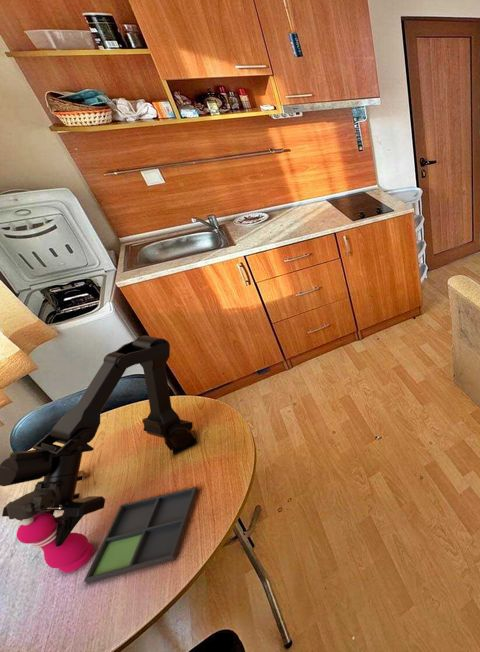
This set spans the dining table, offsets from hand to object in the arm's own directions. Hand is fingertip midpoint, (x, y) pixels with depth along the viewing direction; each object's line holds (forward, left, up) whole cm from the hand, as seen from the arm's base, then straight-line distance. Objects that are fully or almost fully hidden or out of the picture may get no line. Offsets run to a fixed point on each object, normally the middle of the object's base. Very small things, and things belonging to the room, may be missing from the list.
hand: (47, 546), depth 86 cm
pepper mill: (-1, -1, -10) cm, 10 cm away
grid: (-15, +2, -10) cm, 18 cm away
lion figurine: (+1, -24, -10) cm, 26 cm away
